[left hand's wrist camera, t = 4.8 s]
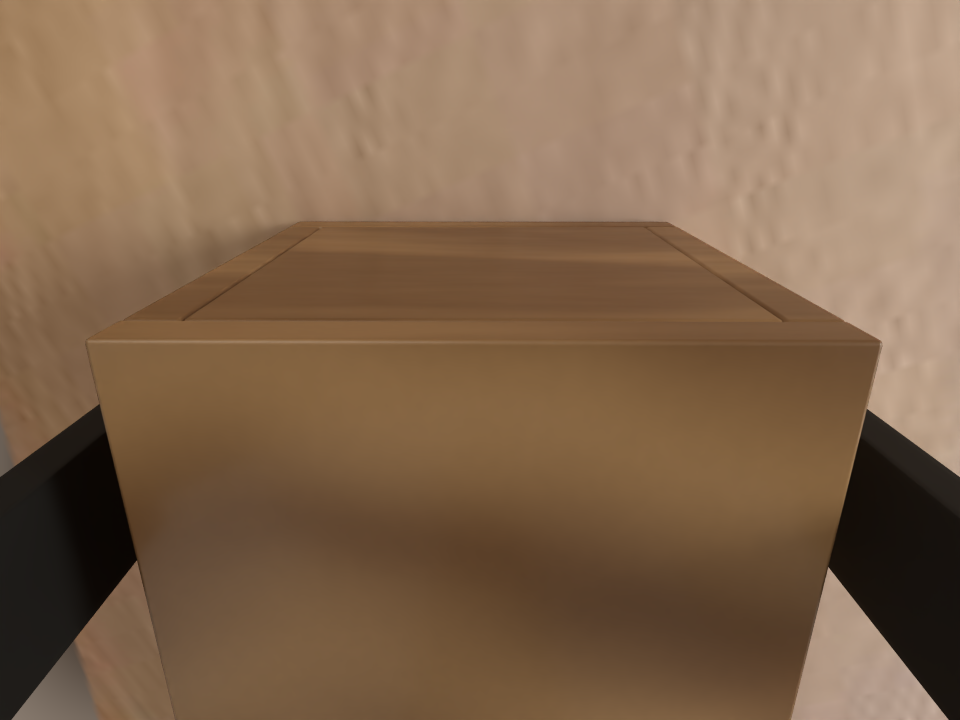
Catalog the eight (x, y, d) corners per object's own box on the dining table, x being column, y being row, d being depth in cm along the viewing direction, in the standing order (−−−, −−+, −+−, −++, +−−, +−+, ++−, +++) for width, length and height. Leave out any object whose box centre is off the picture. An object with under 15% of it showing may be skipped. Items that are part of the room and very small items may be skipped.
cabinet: (615, 721, 24) (698, 1101, 15) (349, 720, 24) (264, 1097, 15) (669, 221, 17) (886, 341, 8) (297, 221, 17) (81, 339, 8)
